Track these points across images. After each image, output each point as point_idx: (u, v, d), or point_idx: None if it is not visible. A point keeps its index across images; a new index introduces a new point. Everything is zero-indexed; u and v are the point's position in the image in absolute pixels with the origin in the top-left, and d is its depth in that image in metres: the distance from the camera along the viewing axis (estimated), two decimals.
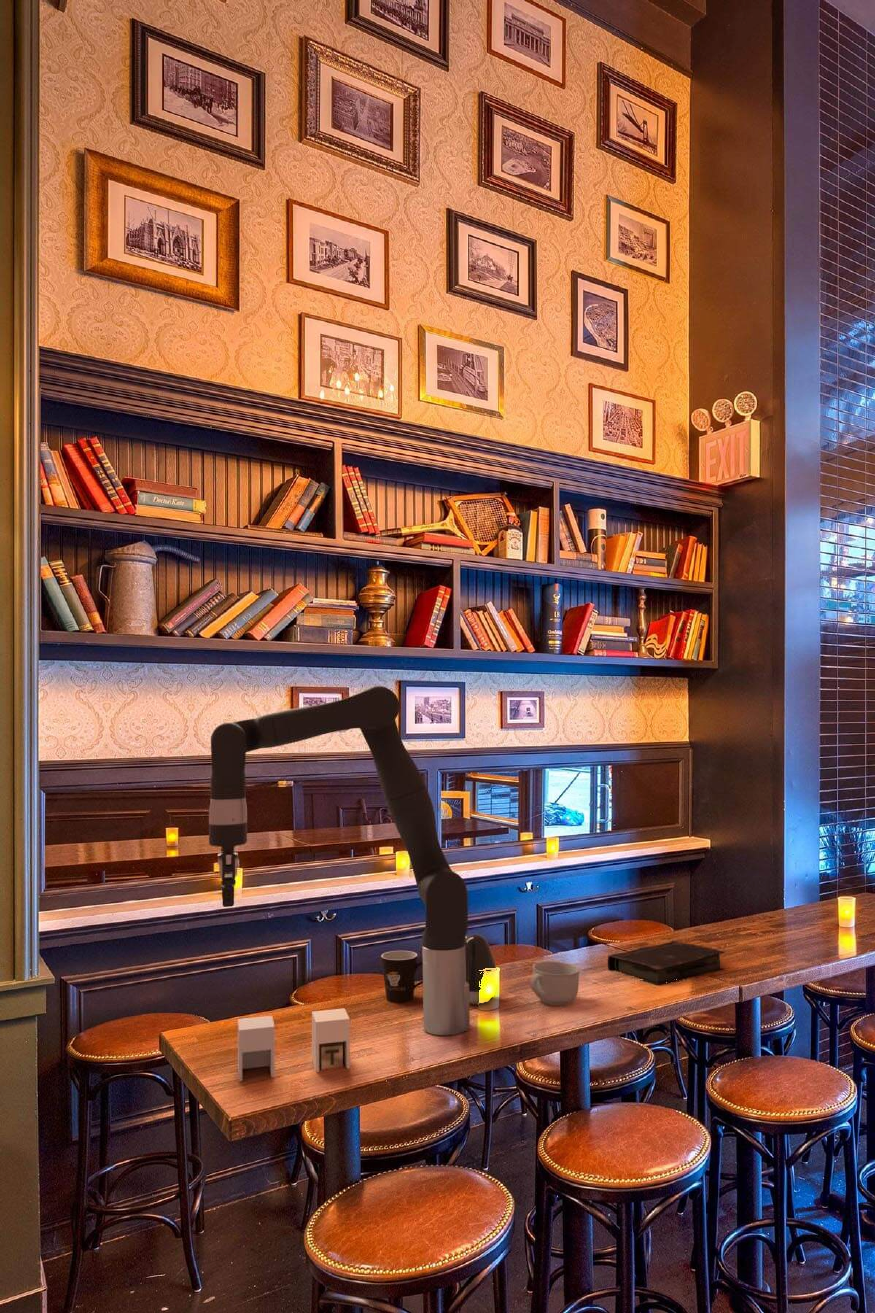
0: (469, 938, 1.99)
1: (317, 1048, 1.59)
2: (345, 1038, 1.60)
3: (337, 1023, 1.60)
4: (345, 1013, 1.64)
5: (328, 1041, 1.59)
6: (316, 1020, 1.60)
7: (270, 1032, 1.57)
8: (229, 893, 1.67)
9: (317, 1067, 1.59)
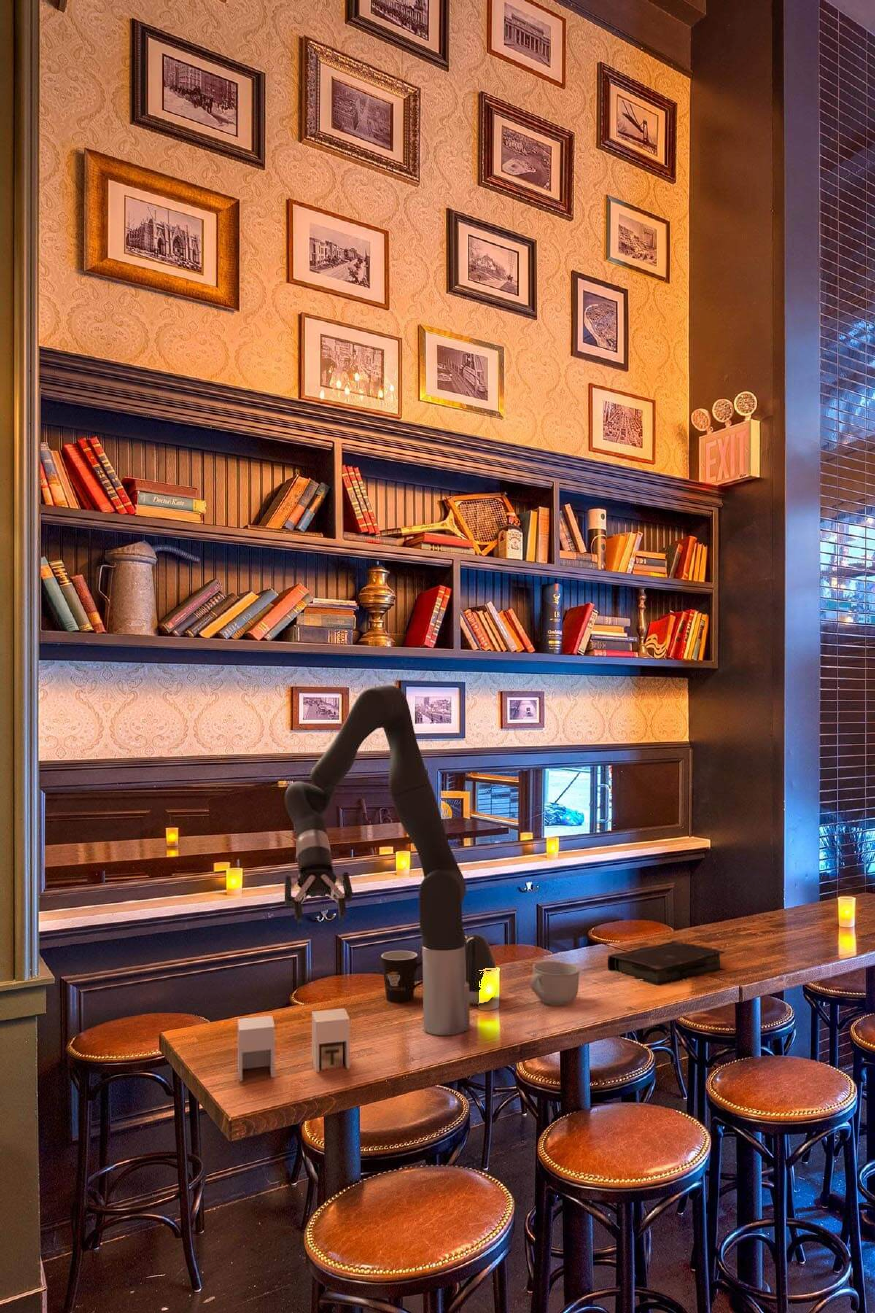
0: (469, 938, 1.99)
1: (317, 1048, 1.59)
2: (345, 1038, 1.60)
3: (337, 1023, 1.60)
4: (345, 1013, 1.64)
5: (328, 1041, 1.59)
6: (316, 1020, 1.60)
7: (270, 1032, 1.57)
8: None
9: (317, 1067, 1.59)
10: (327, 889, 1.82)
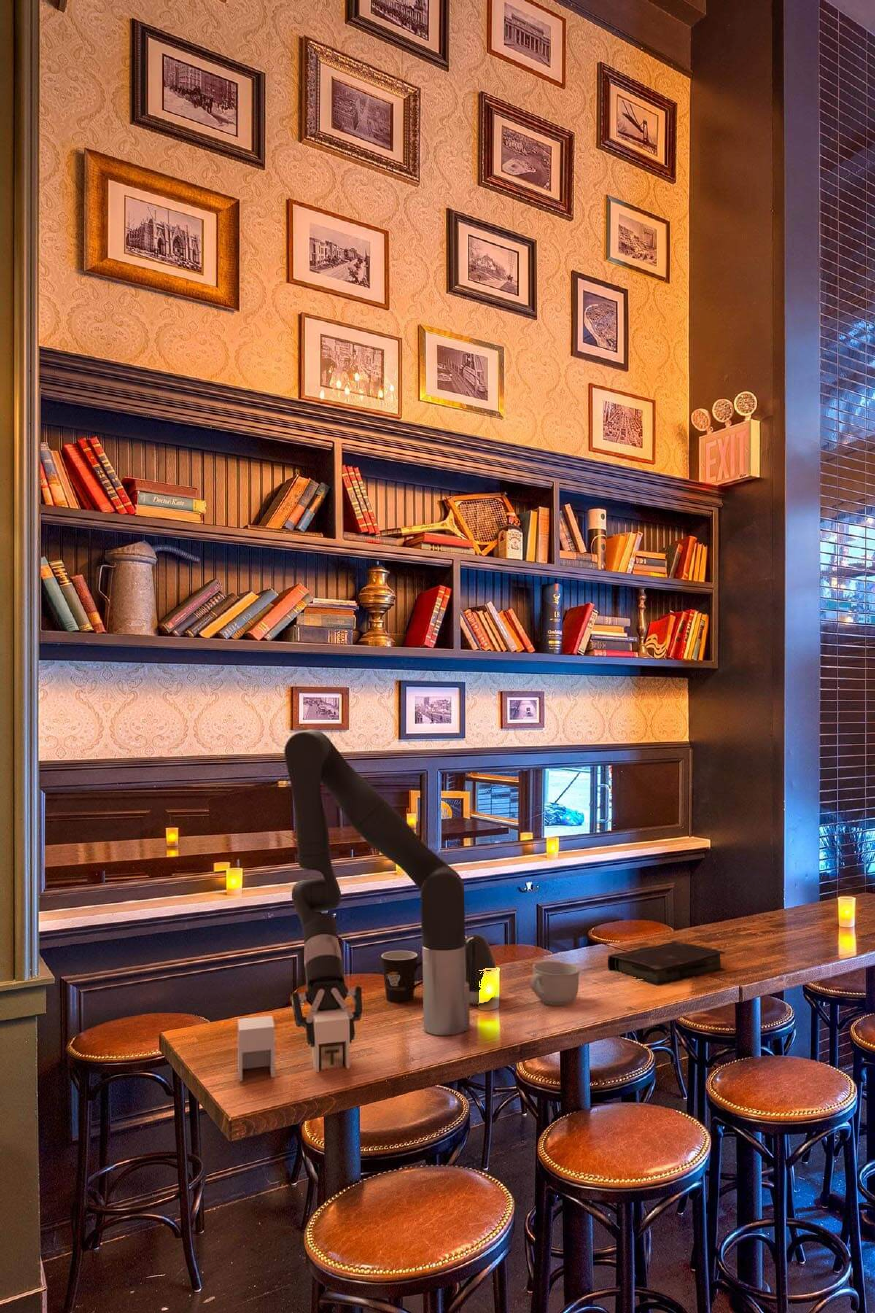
0: (469, 938, 1.99)
1: (317, 1048, 1.59)
2: (345, 1038, 1.60)
3: (337, 1023, 1.60)
4: (345, 1013, 1.64)
5: (328, 1041, 1.59)
6: (316, 1020, 1.60)
7: (270, 1032, 1.57)
8: (306, 1031, 1.62)
9: (317, 1067, 1.58)
10: (336, 1005, 1.66)
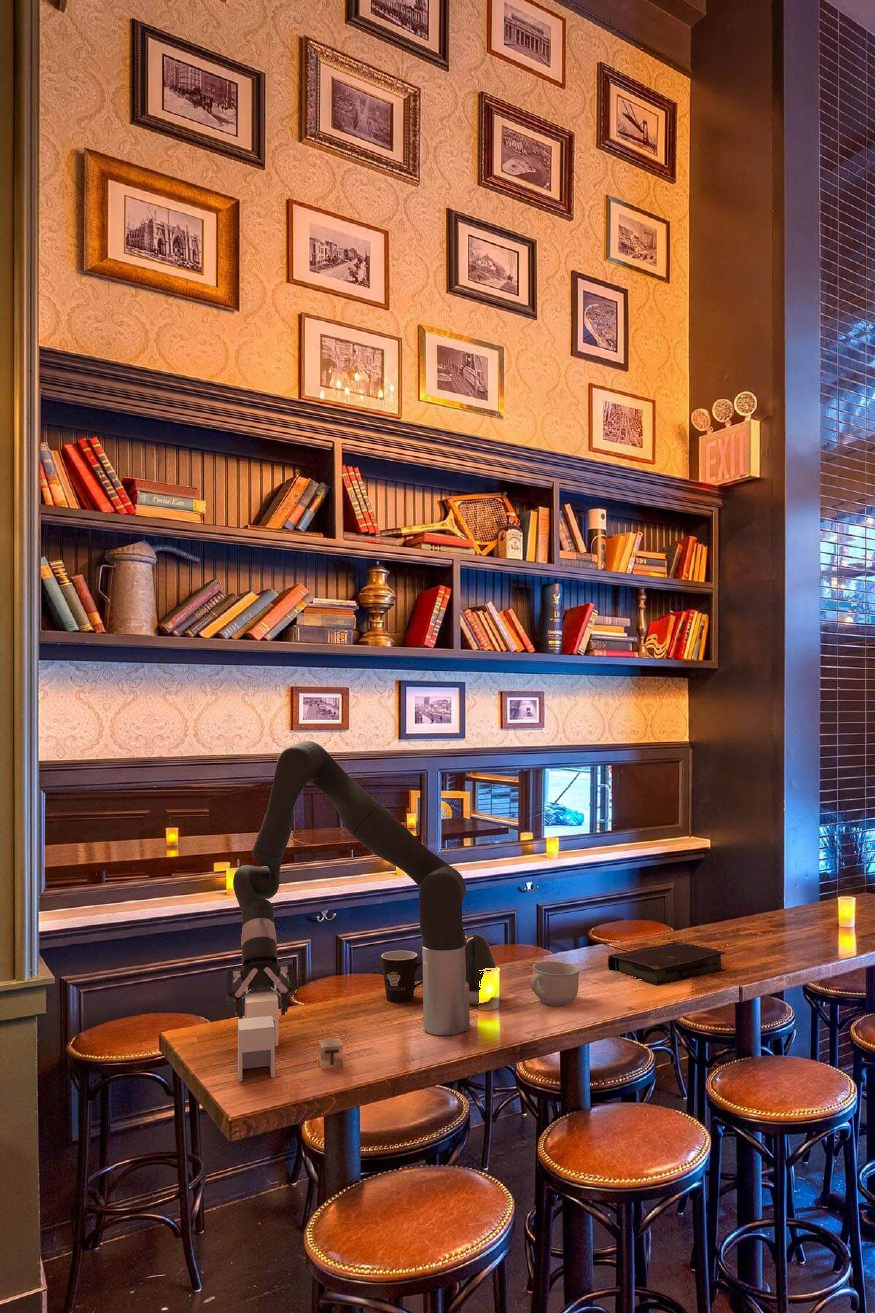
0: (469, 938, 1.99)
1: None
2: (274, 1018, 1.73)
3: (266, 1004, 1.73)
4: (275, 995, 1.76)
5: None
6: (247, 1001, 1.72)
7: (270, 1032, 1.57)
8: None
9: None
10: (270, 983, 1.79)
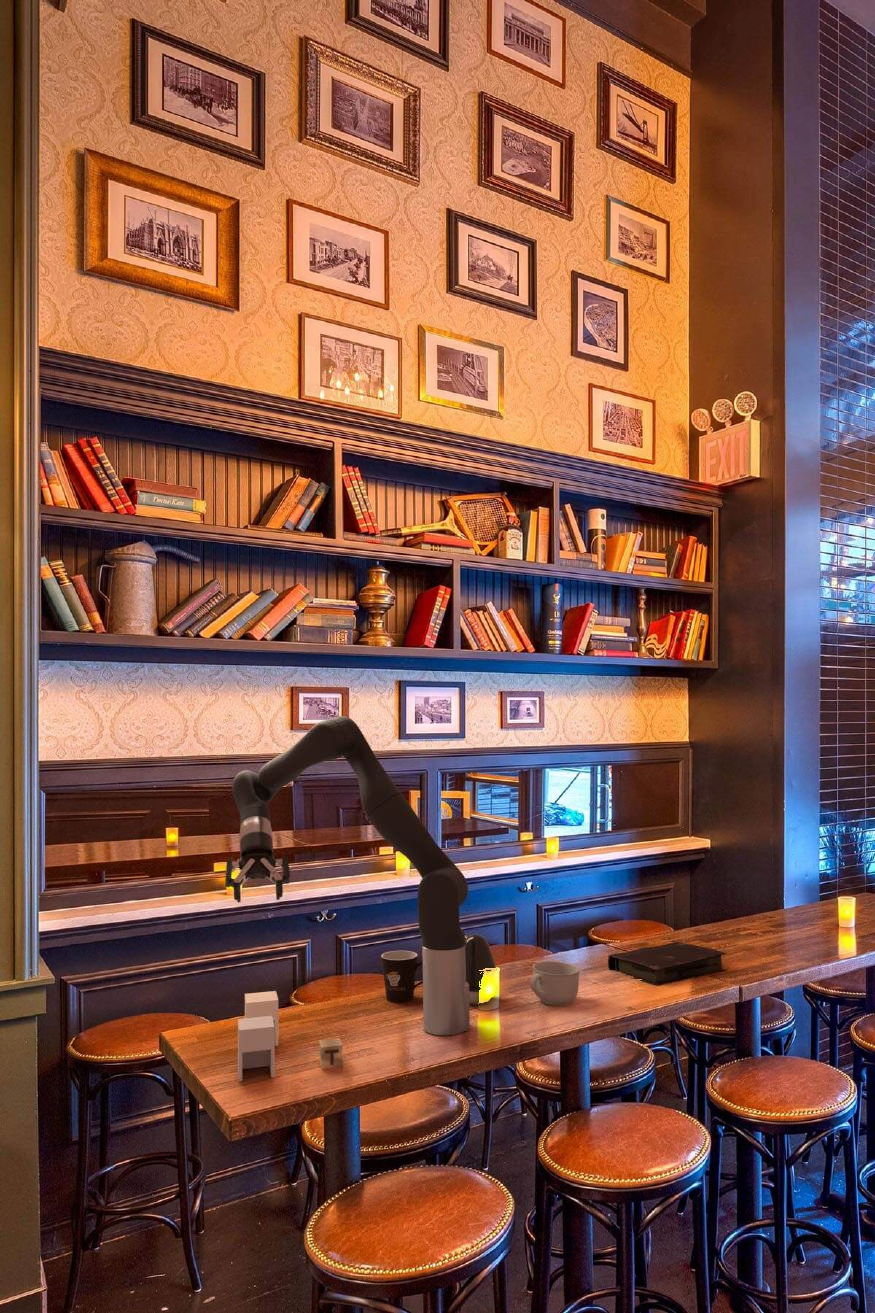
0: (469, 938, 1.99)
1: None
2: (274, 1018, 1.73)
3: (266, 1004, 1.73)
4: (275, 995, 1.76)
5: None
6: (247, 1001, 1.72)
7: (270, 1032, 1.57)
8: None
9: None
10: (266, 872, 1.93)
